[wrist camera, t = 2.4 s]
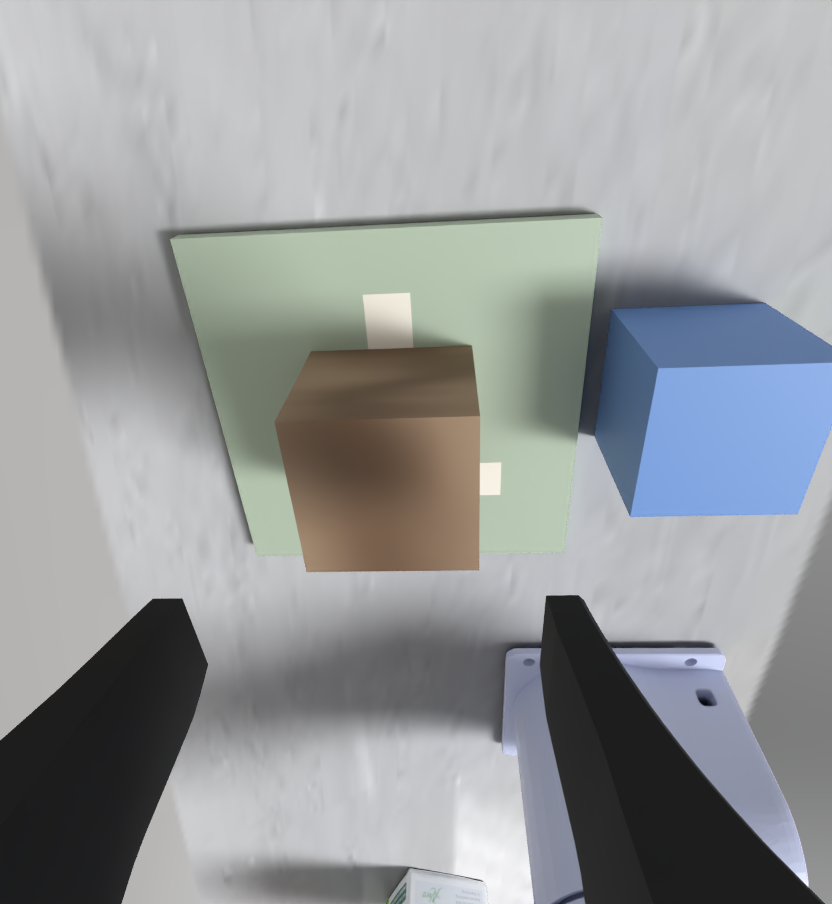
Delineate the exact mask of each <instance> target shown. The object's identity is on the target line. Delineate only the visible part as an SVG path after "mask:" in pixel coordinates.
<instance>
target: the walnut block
mask: <svg viewBox="0 0 832 904" xmlns="http://www.w3.org/2000/svg"><path fill="white" fill-rule="evenodd" d="M274 423H275V427H276V432H277V437H278V441H279V446H280V451H281V455H282V460H283V465H284V469H285V474H286V478H287V483H288V488H289V492H290V497H291V502H292V506H293V511H294V516H295V520H296V525H297V529H298V534H299V539H300V543H301V548H302V553H303V557H304V562H305V567H306V571H307V572H348V571H440V570H479V521H480V410H479V401H478V393H477V384H476V375H475V367H474V358H473V349H472V346H447V347H420V348H392V349H364V350H337V351H311V352H310V354H309V356H308V358H307V360H306V362H305V364H304V366H303V368H302V370H301V372H300V374H299V375H298V377H297V379H296V381H295V383H294V385H293V387H292V389H291V391H290V393H289V395H288V397H287V399H286V400H285V402H284V404H283V406H282V408H281V410H280V412H279V414H278V416H277V418H276V420H275V422H274Z"/></svg>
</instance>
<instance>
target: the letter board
mask: <svg viewBox="0 0 832 904" xmlns="http://www.w3.org/2000/svg"><path fill="white" fill-rule="evenodd" d="M601 226H602V217H601V216H600V215H598V214H583V215H563V216H543V217H523V218H503V219H483V220H464V221H444V222H424V223H404V224H384V225H365V226H345V227H325V228H305V229H285V230H266V231H246V232H226V233H206V234H186V235H177V236H175V237H173V238H172V239H170V241H171V245H172V248H173V252H174V256H175V259H176V263H177V267H178V270H179V274H180V278H181V281H182V285H183V289H184V292H185V296H186V300H187V303H188V307H189V310H190V314H191V318H192V321H193V325H194V329H195V332H196V336H197V340H198V343H199V347H200V351H201V354H202V358H203V361H204V365H205V369H206V372H207V376H208V380H209V383H210V387H211V391H212V394H213V398H214V402H215V405H216V409H217V413H218V416H219V420H220V423H221V427H222V431H223V434H224V438H225V442H226V445H227V449H228V453H229V456H230V460H231V464H232V467H233V471H234V474H235V478H236V482H237V485H238V489H239V493H240V496H241V500H242V504H243V507H244V511H245V515H246V518H247V522H248V526H249V529H250V533H251V536H252V540H253V544H254V547H255V551H256V555H257V556H303V553H302V548H301V543H300V539H299V534H298V529H297V525H296V520H295V516H294V511H293V506H292V502H291V497H290V492H289V488H288V483H287V478H286V474H285V469H284V465H283V460H282V455H281V451H280V446H279V441H278V437H277V432H276V427H275V423H274V422H275V420H276V418H277V416H278V414H279V412H280V410H281V408H282V406H283V404H284V402H285V400H286V399H287V397H288V395H289V393H290V391H291V389H292V387H293V385H294V383H295V381H296V379H297V377H298V375H299V374H300V372H301V370H302V368H303V366H304V364H305V362H306V360H307V358H308V356H309V354H310V352H311V351H337V350H364V349H392V348H420V347H447V346H472V349H473V358H474V367H475V375H476V384H477V393H478V401H479V410H480V521H479V554H480V553H558V552H564V551H565V542H566V533H567V525H568V516H569V507H570V498H571V489H572V481H573V472H574V463H575V454H576V445H577V437H578V428H579V419H580V410H581V402H582V393H583V384H584V375H585V366H586V358H587V349H588V340H589V331H590V323H591V314H592V305H593V296H594V287H595V279H596V270H597V261H598V252H599V243H600V235H601Z"/></svg>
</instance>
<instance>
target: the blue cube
mask: <svg viewBox="0 0 832 904" xmlns="http://www.w3.org/2000/svg"><path fill="white" fill-rule="evenodd" d="M831 427H832V346H831V345H830V344H828V343H827V342H825V341H823V340H822V339H820V338H819V337H817V336H816V335H814V334H813V333H811V332H809V331H808V330H806V329H805V328H803V327H802V326H800V325H799V324H797V323H795V322H794V321H792V320H791V319H789V318H788V317H786V316H785V315H783V314H781V313H780V312H778V311H777V310H775V309H774V308H772V307H771V306H769V305H767V304H766V303H752V304H726V305H701V306H675V307H650V308H625V309H611V317H610V324H609V332H608V339H607V347H606V354H605V362H604V369H603V377H602V384H601V392H600V399H599V407H598V414H597V422H596V429H595V438H596V441H597V443H598V445H599V447H600V450H601V452H602V454H603V457H604V459H605V461H606V463H607V466H608V468H609V470H610V472H611V475H612V477H613V479H614V481H615V484H616V486H617V488H618V490H619V493H620V495H621V497H622V499H623V502H624V504H625V506H626V508H627V511H628V513H629V515H630V517H654V516H717V515H779V514H798V512H799V509H800V507H801V504H802V502H803V499H804V496H805V494H806V491H807V489H808V486H809V484H810V481H811V478H812V476H813V473H814V471H815V468H816V466H817V463H818V460H819V458H820V455H821V453H822V450H823V448H824V445H825V443H826V440H827V437H828V435H829V432H830V430H831Z"/></svg>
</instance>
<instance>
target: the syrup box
mask: <svg viewBox="0 0 832 904" xmlns="http://www.w3.org/2000/svg"><path fill="white" fill-rule="evenodd" d="M386 904H488V894H487V886H486V884H485V883H483V882H481V881H477V880H473V879H469V878H465V877H460V876H455V875H450V874H444V873H438V872H432V871H426V870H418V869H412V868H410V869H409V870H408V871H407V874H406V876H405V877H404V878H403V880H402V881H401V882H400V883H399V885H398V886H397V888H396V889H395V891H394V892H393V894H392V895H391V897H390V898H389V900H388V901H387V902H386Z"/></svg>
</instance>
